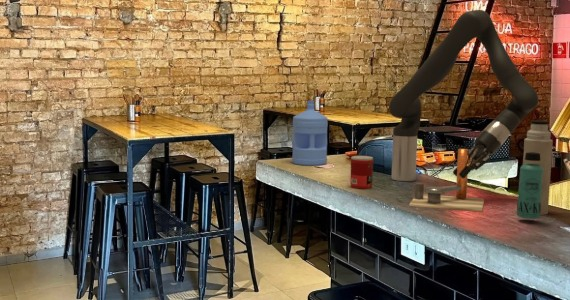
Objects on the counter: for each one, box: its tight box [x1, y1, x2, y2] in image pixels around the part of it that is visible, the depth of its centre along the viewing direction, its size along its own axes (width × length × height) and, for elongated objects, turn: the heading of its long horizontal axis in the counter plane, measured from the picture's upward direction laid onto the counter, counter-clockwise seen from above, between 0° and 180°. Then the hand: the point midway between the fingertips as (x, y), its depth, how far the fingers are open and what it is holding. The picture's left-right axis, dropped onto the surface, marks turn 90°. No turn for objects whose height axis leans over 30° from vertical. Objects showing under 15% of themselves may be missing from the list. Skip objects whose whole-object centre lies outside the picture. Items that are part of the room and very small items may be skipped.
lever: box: [424, 148, 470, 199], centre depth 209 cm, size 17×6×16 cm, turn 121°
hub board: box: [408, 182, 485, 213], centre depth 209 cm, size 18×22×6 cm
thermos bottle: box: [522, 120, 554, 216], centre depth 196 cm, size 8×8×28 cm
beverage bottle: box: [516, 152, 544, 220], centre depth 184 cm, size 6×7×20 cm
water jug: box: [291, 100, 329, 167], centre depth 290 cm, size 16×16×28 cm
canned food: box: [349, 155, 374, 190], centre depth 235 cm, size 8×8×11 cm
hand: (458, 175), depth 212 cm, fingers closed on lever, 3 cm apart
